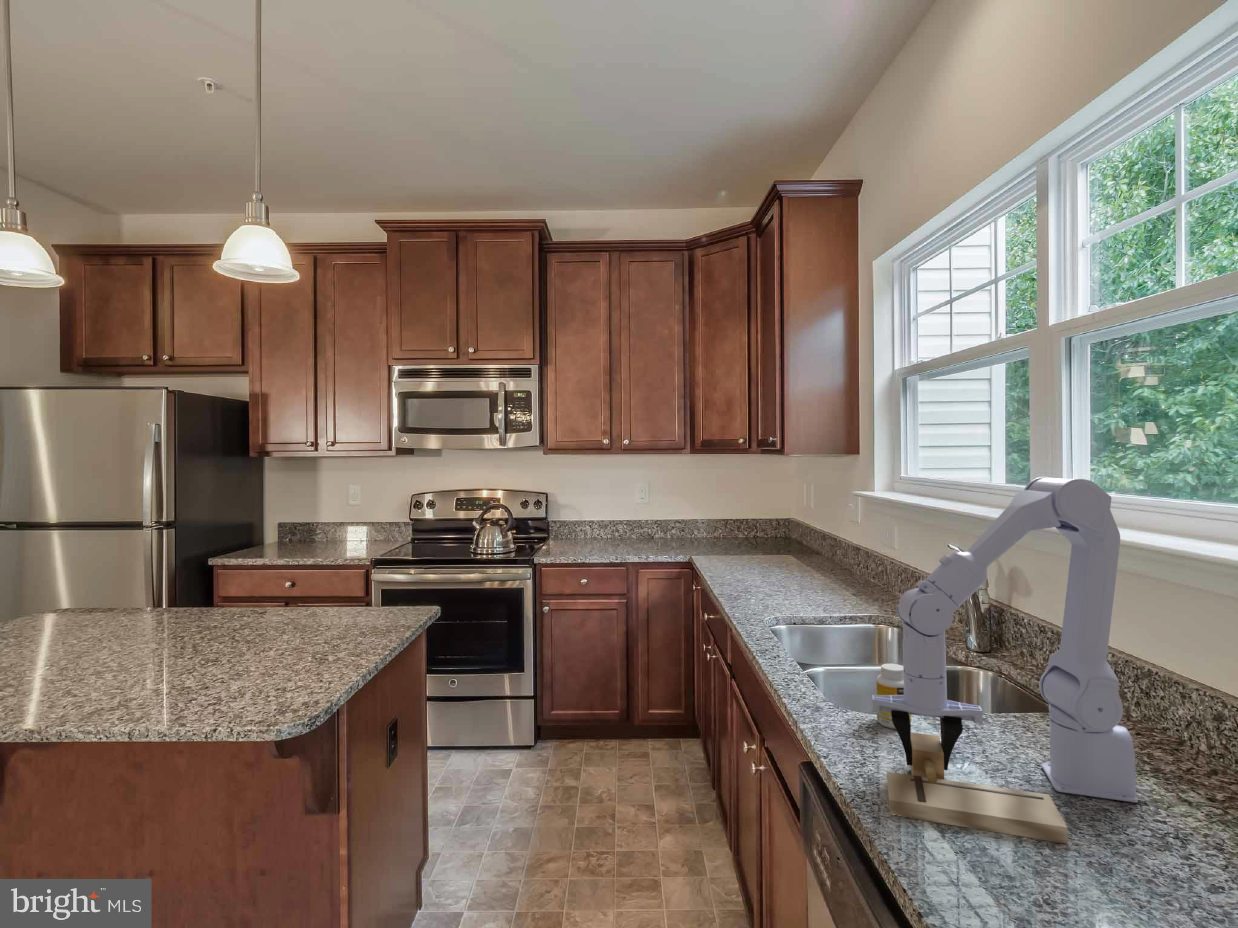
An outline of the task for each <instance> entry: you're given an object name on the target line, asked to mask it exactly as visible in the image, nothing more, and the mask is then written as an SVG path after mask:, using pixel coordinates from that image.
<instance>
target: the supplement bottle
mask: <svg viewBox="0 0 1238 928" xmlns="http://www.w3.org/2000/svg"><path fill="white" fill-rule="evenodd" d="M880 665H881V666H880V674H879V675H877V677H876V680H875V681H876V695H904V677H903V665H900V664H897V663H883V664H880ZM911 716H912V714H909V717H910V724H912V717H911ZM876 720H877V721H878V723H879V724H880V725H881V726H883V727H885V728H888V729H891V730H892V729H894V730H896V728H895V726H894V724H893V722H892V717H891V712H884V711H880V712H879V713H878V712H876Z"/></svg>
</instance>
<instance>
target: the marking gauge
mask: <svg viewBox="0 0 1238 928" xmlns="http://www.w3.org/2000/svg"><path fill="white" fill-rule="evenodd" d="M911 753H912V766H911V765H909V766H910V771H911V775H914V776H921V777H927V779H928V781H929V782H930V783H931V784H934V783H935V782H936V781H937V779H943V780H945V770H944V753H943V749H942V746H941V738H940V736H939V735H935V734H927V733H920V732H919V733H917V732H911Z"/></svg>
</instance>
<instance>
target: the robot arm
mask: <svg viewBox="0 0 1238 928" xmlns="http://www.w3.org/2000/svg"><path fill="white" fill-rule="evenodd" d="M1111 505H1112V497H1111V495H1110V494H1109V493H1107V491H1105V490H1104V489H1103V488H1102V487H1100V486H1099V484H1097V483H1096V482H1094V481H1092V480H1089V479H1086V478H1056V477H1052V476H1051V477H1050V476H1038V477H1036V478H1034V479H1031V480H1030V481H1029V482H1028V483H1027V484H1026V486H1025V487H1024V489H1021V490H1020V491H1018V492H1017V493H1015V495H1014V496H1013V498H1012V500H1011V502H1010V503H1009V504H1008V506H1007V507H1006V508H1005V509H1004V510H1003V511H1002V513H1000V514H999V516H998V517H997V518H996V519H995V520H994V521H992V523H991V525H989V527H987V529H986V530H985V531H984V532H983V533H982V534H981V535H980V536H979V538H977V540H975V542H974V543H973V544H972V545H971V546H970V547H969V548H968V549H967V550H966V551H953V552H952V553H950V554H949V555H947V554H943V556H941V557H940V559H938V562H939V563H940V564H939V565H938V566H937V567H936V568H935V569H934V570H933V571H931V573H930V574H929V575H927V577H926V578H925V579H924V580H922V579H920V580H919V581H917V583H916V586H917V588H913V589H911V588H910V589H909V590H907V591H905V592H904V593H903V594H902V595H901V596H900V598H899V599H898V602H899V603H897V604H896V605H895V611H896V614H897V616H898V618H899V619H900V620H901V621H902V666H903V677H904V695H877V694H872V695H871V707H872V713H877V712H878V713H879V712H880V711H884V712H891V717H892V722H893V724H894V726H895V728H896V729H895V730H896V732H897V734H898V736H899V739H900V740H901V744H902V747H903V750H904V754H905V760H906V761H905V763H906V766H910V765H911V766H912V753H911V733H912V731H911V730H912V729H911V724H912V723H911V724H910V717H909V714H911V716H912V715H913V716H914V715H915V716H920V717H921V716H923V717H932V718H939V723H940V724H939V725H940V742H941V746H942V749H943V753H944V771H948V769H949V763H950V762H949V761H950V758H951V755H952V752H953V750H954V747H955V746H956V743H957V741H958V740H959V738H960V736H961V735H962V733H963V729H964V725H963V723H962V721H965V722H966V721H967V722H968V721H969V722H973V723H974V724H978V725H983V724H984V723H983V719H984V718H983V717H984V716H983V709H982V707H981V705H977V704H970V703H966V702H965V703H964V702H959V701H955V700H950V699H948V693H947V692H948V691H947V690H948V689H947V684H948V682H947V646H946V645H947V644H946V631H947V630H949V629H950V628H951V627H952V625H953V622H954V613H955V612H956V611H957V610H958V608H960V606H962V605H963V604H964V603H965V602H966V601H967V600H968V599H969V598H971V596H972V595H973V594H974V593H976V591H978V589H980V588H981V587H982V586H983V585H984V584H985V583H986V582H987V580H988V568H989V567H990V566H991V565H992V564H994V562H996V560H998V559H999V558H1000V557H1001V556H1003V555H1004V553H1006V552H1007V551H1008V550H1010V549H1011V548H1012V547H1013V546H1014V545H1016V544H1017V543H1018V542H1019V541H1020V540H1022V538H1024V537H1025V536H1026V535H1027V534H1029V532H1031V531H1037V530H1045V529H1052V528H1053V529H1054V528H1055V530H1057V531H1058V532H1059V533H1061V534H1062V536H1063V537H1064V538H1066V540H1068V541H1069V542H1070V544H1071V549H1070V550H1071V551H1070V555H1069V556H1070V557H1069V564H1068V565H1069V567H1068V574H1067V583H1066V591H1065V599H1064V609H1063V610H1064V611H1063V619H1062V626H1061V627H1062V629H1061V635H1060V636H1061V637H1060V644H1059V649H1057V650H1056V651H1055V652H1054V653H1052V654H1051V655H1049V657H1048V660H1047V661H1048V663H1047V667H1046V669H1045V670H1044V672H1043V673H1042V674H1041V676H1040V678H1039V682H1038V689H1039V693H1040V695H1041V697H1042V698H1043V700H1045V702H1047V703H1048V711H1049V713H1048V714H1049V715H1048V717H1049V718H1048V719H1049V756H1050V757H1049V762H1050V763H1045V762H1044V763H1041V768H1042V769H1043V771H1044V772H1045V775H1046V776H1047V778H1048V780H1049V781H1050V783H1051V785H1052V787H1053V788H1054V790H1055V791H1056V792H1059V793H1064V794H1071V795H1079V796H1085V797H1086V796H1087V797H1093V798H1094V797H1095V798H1101V799H1107V800H1108V799H1109V800H1116V801H1123V802H1131V803H1138V802H1139V798H1138V797H1137V796H1136V794H1137V793H1136V790H1137V788H1136V787H1137V786H1136V754H1135V753H1136V752H1135V747H1134V742H1133V738H1132V736H1131V733H1130V731H1129V730H1128V728H1126V727H1125V726H1122V725H1119V723H1120V722H1121V721H1122V718H1123V714H1124V705H1123V702H1122V701H1123V700H1122V699H1121V697H1120V694H1119V687H1120V686H1119V685H1120V682H1119V681H1120V680H1119V678H1118V677H1117V675H1116V674H1115V672H1114V670H1113V669H1112V667H1111V666H1110V664H1109V662H1108V659H1107V657H1108V649H1109V642H1110V641H1109V640H1110V634H1111V633H1110V632H1111V623H1112V613H1113V605H1114V599H1115V591H1116V590H1115V589H1116V582H1117V581H1116V580H1117V571H1118V564H1119V555H1120V548H1121V547H1120V546H1121V545H1120V544H1121V533H1120V530H1119V528H1118V525H1117V523H1116V521H1115V518H1114V516H1113V513H1112V510H1111Z"/></svg>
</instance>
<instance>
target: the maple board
mask: <svg viewBox="0 0 1238 928" xmlns="http://www.w3.org/2000/svg"><path fill="white" fill-rule="evenodd" d="M886 782H887V783H886V784H887V785H886V786H887V787H886V788H887V797H888V809H889V810H890V811H889V815H890V814H895V815H900V816H903V817H902V818H906V817H909V818H908V819H912V818H914V819H913V820H918V819H919V821H926V822H932V823H937V824H944V825H951V826H955V827H956V826H957V827H963V828H967V829H968V828H969V829H976V830H979V831H980V830H982V831H986V832H987V831H988V832H994V833H998V834H1005V835H1006V834H1007V835H1012V836H1016V837H1017V836H1019V837H1023V838H1024V837H1025V838H1030V839H1037V840H1043V841H1048V842H1055V843H1061V844H1067V845H1068V843H1069V842H1068V841H1069V840H1068V839H1069V838H1068V837H1069V836H1068V834H1069V833H1068V826H1067V824H1066V822H1065V820H1064V819H1063V817H1062V815H1061V813H1060V812H1059V810H1058V808H1057V806H1056V804H1055V803H1054V801H1053V799H1052V798H1051V795H1050V794H1048V793H1041V792H1034V791H1028V790H1020V789H1013V788H1006V787H1001V786H1000V787H997V786H992V785H983V784H976V783H971V782H965V781H963V782H962V781H957V780H955V781H954V780H950V779H949V780H948V779H944V780H943V779H937V781H936V782H935V783H934V784H931V783H930V782H929V781H928V779H927V777H921V776H914V775H912V774H906V773H899V772H892V771H887V772H886ZM900 816H899V817H900Z"/></svg>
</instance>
